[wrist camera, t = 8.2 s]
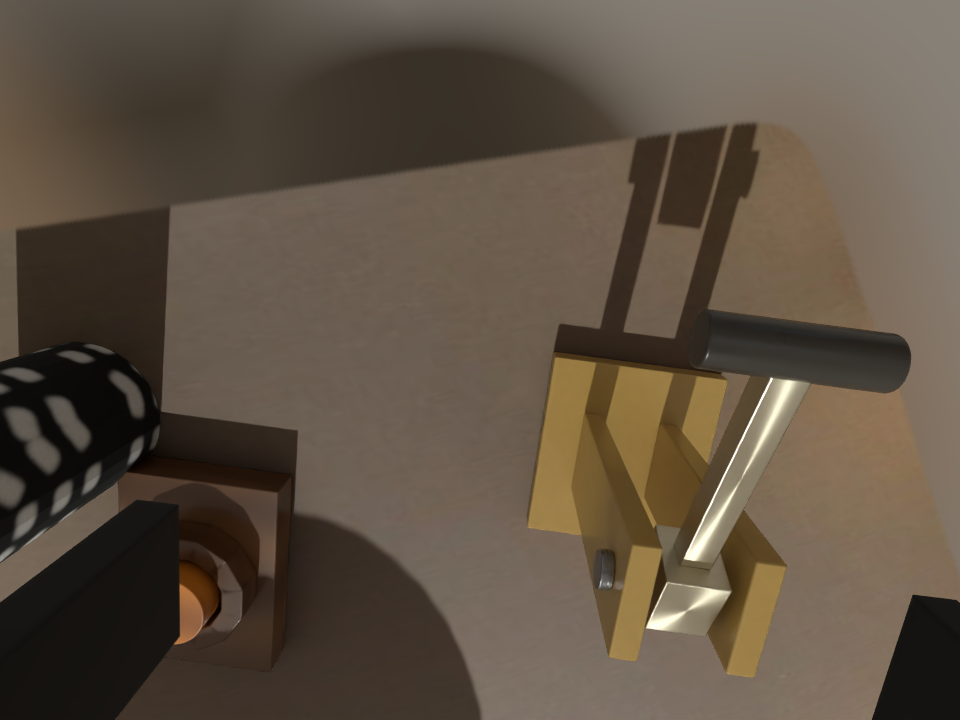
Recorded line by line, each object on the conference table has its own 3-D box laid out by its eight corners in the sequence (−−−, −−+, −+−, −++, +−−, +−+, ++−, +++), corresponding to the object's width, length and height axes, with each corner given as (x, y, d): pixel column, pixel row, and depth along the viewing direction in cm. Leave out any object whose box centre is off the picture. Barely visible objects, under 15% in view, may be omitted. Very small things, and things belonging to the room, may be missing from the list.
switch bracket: (553, 351, 31) (585, 455, 18) (720, 373, 31) (877, 495, 18) (526, 517, 34) (537, 716, 20) (680, 538, 34) (793, 753, 20)
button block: (141, 453, 34) (94, 484, 30) (292, 474, 34) (264, 508, 30) (145, 626, 37) (103, 675, 33) (284, 646, 37) (258, 697, 33)
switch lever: (697, 290, 16) (719, 338, 14) (883, 314, 16) (931, 366, 14) (599, 565, 23) (605, 622, 21) (727, 583, 23) (744, 642, 21)
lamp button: (147, 554, 32) (127, 573, 30) (220, 564, 31) (203, 584, 30) (148, 616, 33) (129, 639, 31) (219, 627, 32) (203, 649, 31)
